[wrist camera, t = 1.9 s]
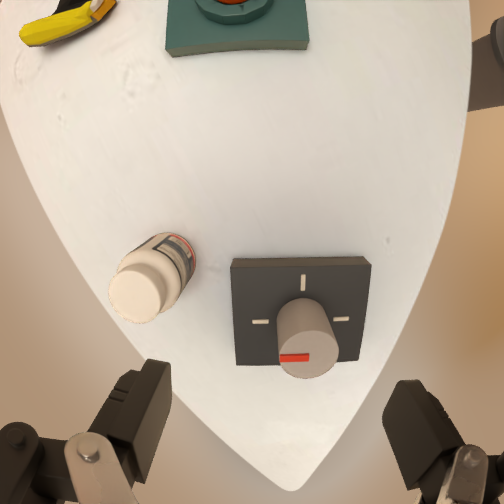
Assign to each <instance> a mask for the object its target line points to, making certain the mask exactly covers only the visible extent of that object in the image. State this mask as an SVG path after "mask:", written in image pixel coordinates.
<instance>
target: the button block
mask: <svg viewBox="0 0 504 504" xmlns="http://www.w3.org/2000/svg"><path fill="white" fill-rule="evenodd" d="M308 43H309V33H308V23H307V13H306V5H305V0H246V1H244V2H241V3H237V4H226V3H222V2H220V1H218V0H169V2H168V13H167V27H166V45H165V50H166V51H167V52H168V53H169V54H170V55H171V56H172V57H179V56H185V55H193V54H201V53H210V52H221V51H235V50H257V49H295V50H306V48H307V45H308Z"/></svg>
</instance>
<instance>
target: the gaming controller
mask: <svg viewBox="0 0 504 504" xmlns="http://www.w3.org/2000/svg"><path fill="white" fill-rule="evenodd" d="M115 3H116V1H115V0H60V1H59V4H58V7H57V9H56V11H55V12H54V13H53V14H52V15H51V16H48V17H45V18H42V19H39V20H36V21H33V22H31V23H28V24H26V25H24V26H23V27H22V29H21V30H20V31H19V37H20V38H21V40H22V41H23V42H24V43H25V44H26V45H28V46H29V47H38V46H46V45H48V44H51V43H54V42H56V41H59V40H62V39H65V38H68V37H70V36H73V35H75V34H77V33H78V32H80V31H82V30H84V29H86V28H88V27H90V26H92V25H93V24H95V23H96V22H98V21H100V20H101V19H102V17H103V16H104V15H105V14H106V13H107V12H108V10H109V9H110V8H111V7H112V6H113V5H114V4H115Z"/></svg>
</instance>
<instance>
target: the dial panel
mask: <svg viewBox="0 0 504 504" xmlns="http://www.w3.org/2000/svg"><path fill="white" fill-rule="evenodd" d="M230 273H231V291H232V308H233V324H234V339H235V354H236V365H246V366H260V365H281V364H280V361H279V350H278V335H277V316H278V313H279V311H280V310H281V308H282V307H283V306H284V305H285V304H287V303H288V302H290V301H292V300H295V299H299V298H308V299H312V300H314V301H316V302H318V303H319V304H320V305H321V306H322V307H323V309H324V311H325V313H326V316H327V318H328V321H329V323H330V326H331V328H332V331H333V334H334V336H335V339H336V341H337V344H338V347H339V354H338V358H337V361H336V362H347V361H358V359H359V354H360V348H361V342H362V336H363V330H364V323H365V316H366V309H367V302H368V294H369V285H370V276H371V264H370V263H369V262H368V261H367V260H366V259H365V258H364V257H314V258H256V259H233V261H232V264H231V267H230Z"/></svg>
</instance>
